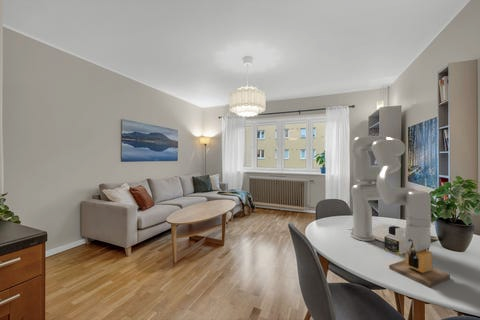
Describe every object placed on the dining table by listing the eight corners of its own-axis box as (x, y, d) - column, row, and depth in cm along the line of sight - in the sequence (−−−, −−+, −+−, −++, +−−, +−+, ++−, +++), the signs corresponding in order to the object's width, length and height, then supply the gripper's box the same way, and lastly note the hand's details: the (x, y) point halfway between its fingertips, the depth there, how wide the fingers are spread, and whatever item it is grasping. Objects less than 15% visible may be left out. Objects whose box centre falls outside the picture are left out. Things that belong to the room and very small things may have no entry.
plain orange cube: (405, 265, 86) (405, 248, 86) (414, 262, 88) (414, 246, 88) (422, 272, 80) (422, 255, 80) (431, 269, 83) (431, 252, 83)
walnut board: (389, 268, 88) (389, 254, 88) (409, 261, 94) (409, 248, 93) (429, 287, 75) (429, 271, 75) (450, 278, 81) (450, 263, 81)
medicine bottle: (384, 249, 106) (384, 226, 106) (393, 246, 109) (393, 224, 109) (399, 255, 100) (398, 230, 99) (408, 252, 102) (408, 228, 102)
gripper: (419, 216, 91) (419, 256, 91) (394, 221, 84) (395, 265, 85) (441, 221, 84) (441, 264, 84) (416, 227, 77) (416, 274, 78)
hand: (418, 264), depth 84 cm, fingers closed on plain orange cube, 5 cm apart
